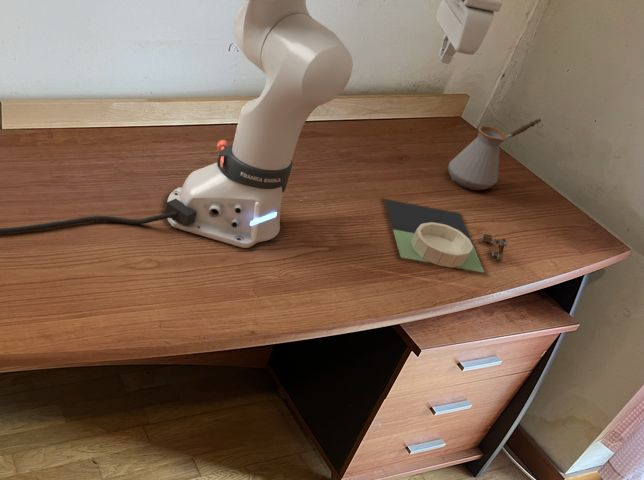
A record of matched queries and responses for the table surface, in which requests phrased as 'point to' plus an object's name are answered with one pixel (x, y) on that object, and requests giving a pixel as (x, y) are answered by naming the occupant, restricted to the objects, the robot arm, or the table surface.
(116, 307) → the table surface
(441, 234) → the bowl
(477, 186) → the coffee pot
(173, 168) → the table surface
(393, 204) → the desk mat
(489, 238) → the wooden post with brackets
